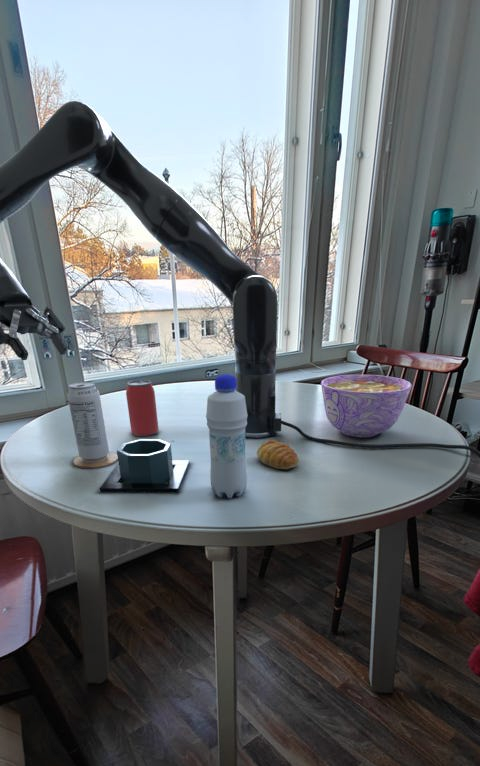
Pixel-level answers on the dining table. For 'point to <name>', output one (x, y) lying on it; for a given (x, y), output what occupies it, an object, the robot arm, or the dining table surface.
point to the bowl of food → (364, 403)
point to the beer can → (142, 408)
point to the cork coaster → (110, 460)
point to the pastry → (277, 455)
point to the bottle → (227, 437)
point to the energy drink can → (88, 421)
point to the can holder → (146, 468)
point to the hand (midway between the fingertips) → (45, 354)
